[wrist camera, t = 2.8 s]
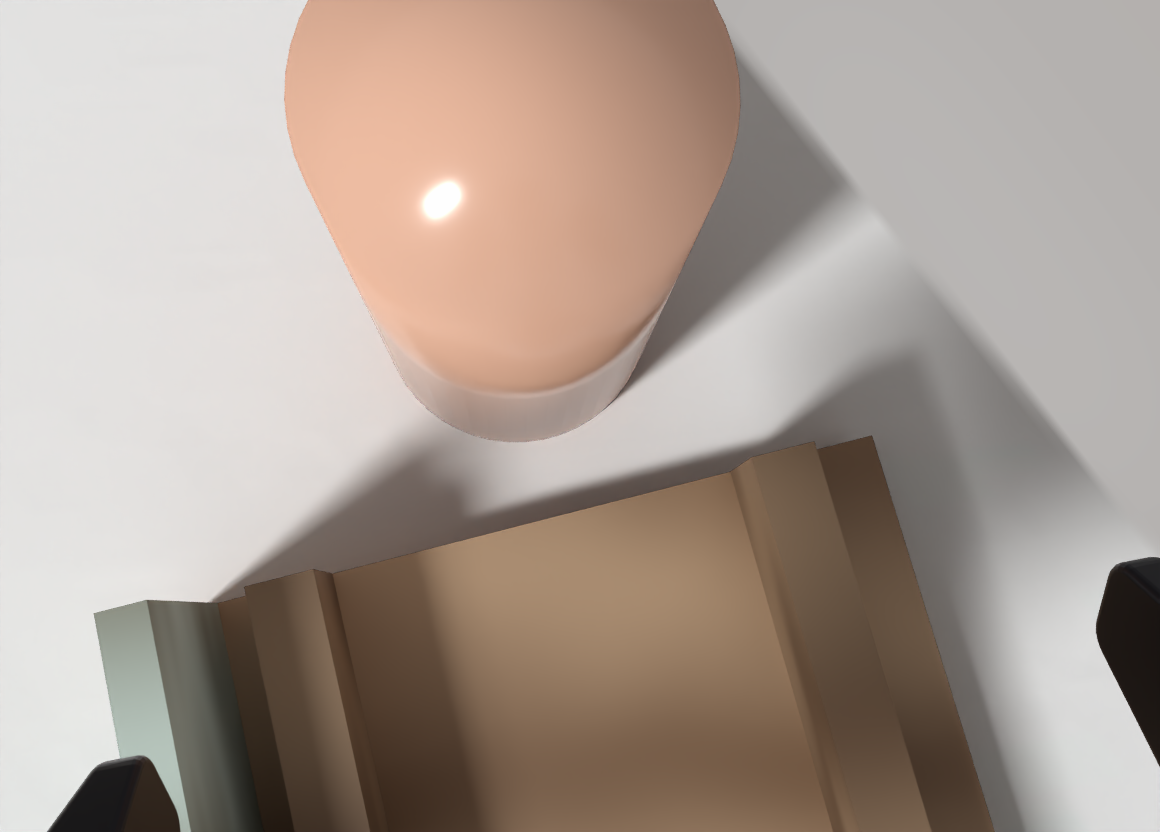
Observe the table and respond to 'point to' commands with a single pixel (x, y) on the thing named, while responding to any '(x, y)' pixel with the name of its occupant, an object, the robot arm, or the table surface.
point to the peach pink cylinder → (513, 186)
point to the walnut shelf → (572, 675)
